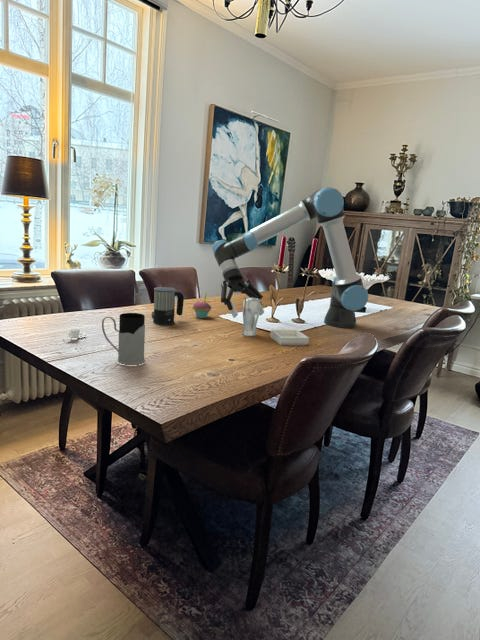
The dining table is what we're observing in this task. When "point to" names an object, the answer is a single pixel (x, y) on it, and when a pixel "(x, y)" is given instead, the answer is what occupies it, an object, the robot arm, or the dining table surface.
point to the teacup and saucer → (75, 333)
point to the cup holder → (289, 337)
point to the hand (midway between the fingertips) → (249, 315)
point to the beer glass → (250, 316)
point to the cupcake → (202, 308)
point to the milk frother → (166, 305)
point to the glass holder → (130, 338)
